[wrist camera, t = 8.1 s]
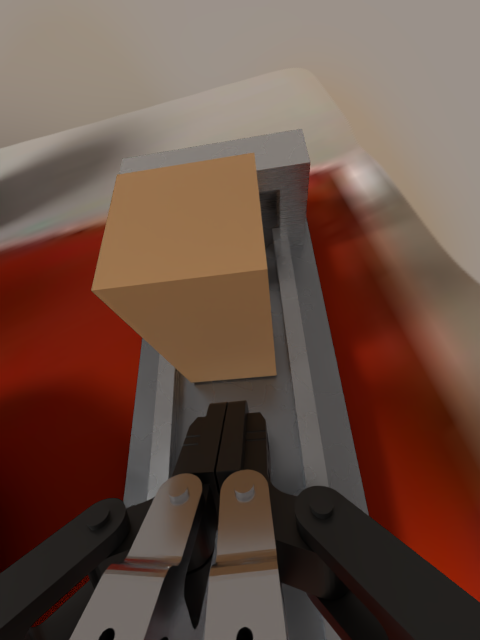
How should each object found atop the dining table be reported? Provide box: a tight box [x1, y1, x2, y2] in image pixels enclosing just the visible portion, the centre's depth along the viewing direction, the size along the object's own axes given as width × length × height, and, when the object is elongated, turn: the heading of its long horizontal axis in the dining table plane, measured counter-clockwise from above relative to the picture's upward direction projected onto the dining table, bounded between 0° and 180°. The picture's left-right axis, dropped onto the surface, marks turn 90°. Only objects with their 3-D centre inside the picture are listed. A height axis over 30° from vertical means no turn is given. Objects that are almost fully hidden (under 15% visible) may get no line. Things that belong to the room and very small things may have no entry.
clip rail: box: [119, 129, 369, 640], centre depth 15 cm, size 26×12×8 cm, turn 3°
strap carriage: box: [91, 153, 277, 383], centre depth 15 cm, size 12×5×10 cm, turn 3°
